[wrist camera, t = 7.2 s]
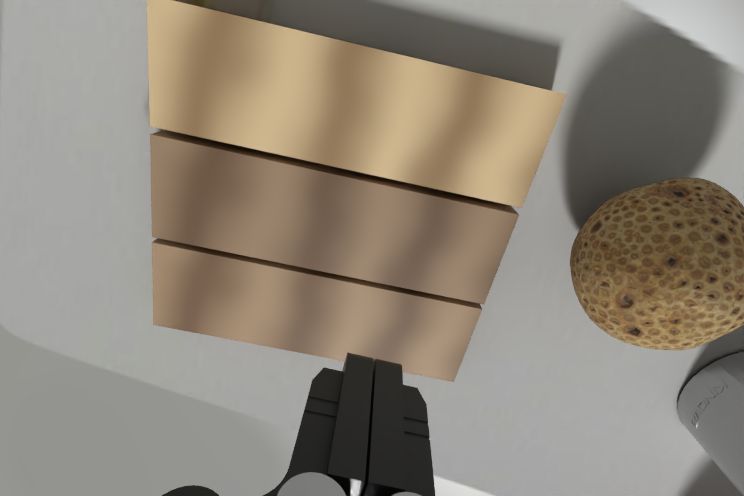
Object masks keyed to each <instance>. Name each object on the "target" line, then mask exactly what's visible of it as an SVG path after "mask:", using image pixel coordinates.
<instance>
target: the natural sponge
mask: <svg viewBox="0 0 744 496" xmlns="http://www.w3.org/2000/svg"><path fill="white" fill-rule="evenodd" d="M570 267H571V276H572V281H573V285H574V289H575V293H576V295H577V297H578V299H579V302H580V304H581V305H582V307H583V309H584V310H585V312H586V313H587V315H588V316H589V318H590V319H591V320H592V321H593V322H594V323H595V324H596V325H597V326H598V327H600V328H601V329H602V330H603V331H605V332H606V333H607V334H609V335H611V336H612V337H614V338H616V339H619V340H621V341H623V342H625V343H629V344H632V345H636V346H639V347H644V348H649V349H657V350H685V349H690V348H695V347H698V346H700V345H703V344H705V343H708V342H710V341H713V340H715V339H718V338H720V337H722V336H724V335H726V334H728V333H730V332H732V331H734V330H736V329H737V328H739V327H741V326H742V325H743V324H744V207H743V205H742V204H741V203H740V202H739V200H738V199H737V198H736V197H735V196H733V195H732V194H731V193H729V192H728V191H727V190H725V189H724V188H722V187H721V186H719V185H717V184H715V183H713V182H710V181H708V180H704V179H700V178H677V179H669V180H664V181H660V182H657V183H653V184H649V185H645V186H641V187H637V188H634V189H631V190H628V191H626V192H623V193H621V194H619V195H616V196H614V197H612V198H611V199H609V200H608V201H606V202H604V203H603V204H602V205H601V206H600V207H599V208H598V209H597V210H596V211H595V212H594V213H593V214H592V215H591V216H590V218H589V219H588V220H587V221H586V222H585V224H584V225H583V227H582V228H581V229H580V231H579V233H578V235H577V237H576V239H575V241H574V243H573V246H572V251H571V257H570Z"/></svg>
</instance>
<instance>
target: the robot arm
mask: <svg viewBox="0 0 744 496" xmlns="http://www.w3.org/2000/svg"><path fill="white" fill-rule="evenodd" d="M678 415H679V418H680V420H681V422H682V423H683V424H684V426H685V427H686V428H687V429H688V430H689V432H690V433H691V434H692V435H693V436H694V438H695V439H696V440H697V441H698V442H699V444H700V445H701V446H702V447H703V449H704V450H705V451H706V452H707V453H708V455H709V456H710V457H711V458H712V459H713V461H714V462H715V463H716V464H717V466H718V467H719V468H720V469H721V471H722V472H723V473H724V474H725V475H726V477H727V478H728V479H729V480H730V481H731V483H732V484H733V485H734V486H735V487H736V489H737V490H738V491H739V492H740V493H741V495H742V496H744V352H740V353H736V354H733V355H729V356H727V357H724V358H722V359H720V360H717V361H715V362H713V363H712V364H710V365H708V366H707V367H705V368H703V369H702V370H701V371H700V372H699V373H697V374H696V375H695V376H694V377H693V378H692V379H691V380H690V381H689V382H688V383H687V385H686V386H685V387H684V389H683V391H682V393H681V395H680V397H679V401H678ZM162 496H219V495H218V494H217V493H215V492H214V491H213V490H211V489H209V488H206V487H202V486H194V485H193V486H184V487H180V488H177V489H174V490H172V491H170V492H168V493H166V494H164V495H162ZM264 496H435V489H434V478H433V468H432V458H431V447H430V440H429V427H428V417H427V406H426V403H425V401H424V399H423V398H422V396H421V394H420V392H419V390H418V388H415V387H410V386H406V385H403V379H402V365H401V364H398V363H393V362H389V361H384V360H380V359H375V360H374V359H373V358H370V357H366V356H361V355H357V354H352V353H347V355H346V359H345V363H344V367H343V371H337V370H333V369H328V368H323V369H322V370H321V371H320V372H319V374H318V375H317V376H316V377H315V378H314V379H313V380H312V384H311V388H310V391H309V395H308V399H307V403H306V406H305V410H304V414H303V417H302V421H301V425H300V429H299V432H298V436H297V440H296V444H295V447H294V451H293V455H292V458H291V462H290V466H289V469H288V472H287V474H286V475H285V477H284V479H283V480H282V481H281V483H280V484H279V485H278V486H277V487H276V488H275V489H273V490H272V491H270V492H269V493H267V494H265V495H264Z"/></svg>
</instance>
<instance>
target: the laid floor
mask: <svg viewBox="0 0 744 496" xmlns="http://www.w3.org/2000/svg"><path fill="white" fill-rule="evenodd" d="M150 145H151V206H152V237H155V238H157V239H156V240H155V241H153V242H152V267H153V325H158V326H163V327H168V328H173V329H179V330H184V331H189V332H194V333H200V334H205V335H210V336H215V337H221V338H226V339H231V340H236V341H242V342H247V343H252V344H257V345H263V346H268V347H273V348H278V349H284V350H289V351H294V352H299V353H305V354H310V355H315V356H320V357H326V358H331V359H336V360H341V361H345V359H346V355H347V353H352V354H357V355H361V356H366V357H370V358H373V359H374V360H375V359H380V360H384V361H389V362H393V363H398V364H401V365H402V372H404V373H410V374H415V375H420V376H425V377H431V378H436V379H441V380H446V381H452V382H454V380H455V377H456V375H457V372H458V370H459V367H460V364H461V362H462V359H463V357H464V354H465V352H466V349H467V347H468V344H469V341H470V339H471V336H472V334H473V331H474V329H475V326H476V323H477V321H478V318H479V316H480V313H481V311H482V308H481V306H480V304H484V303H485V300H486V298H487V295H488V293H489V290H490V288H491V285H492V282H493V280H494V277H495V275H496V272H497V270H498V267H499V265H500V262H501V259H502V257H503V254H504V252H505V249H506V247H507V244H508V241H509V239H510V236H511V234H512V231H513V229H514V226H515V224H516V221H517V218H518V216H519V214H518V213H517V212H516V211H515V210H514V209H513V208H512V207H511V206H510V205H506V204H502V203H497V202H493V201H488V200H484V199H479V198H474V197H470V196H465V195H461V194H456V193H452V192H447V191H443V190H438V189H433V188H429V187H424V186H420V185H415V184H411V183H406V182H402V181H397V180H392V179H388V178H383V177H379V176H374V175H370V174H365V173H361V172H356V171H351V170H347V169H342V168H338V167H333V166H329V165H324V164H320V163H315V162H310V161H306V160H301V159H297V158H292V157H288V156H283V155H279V154H274V153H269V152H265V151H260V150H256V149H251V148H247V147H242V146H238V145H233V144H228V143H224V142H219V141H215V140H210V139H206V138H201V137H197V136H192V135H187V134H183V133H178V132H174V131H169V130H164V131H160V132H157V133H153V134H150Z"/></svg>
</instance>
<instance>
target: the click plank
mask: <svg viewBox="0 0 744 496" xmlns="http://www.w3.org/2000/svg"><path fill="white" fill-rule="evenodd" d="M147 25H148V62H149V100H150V126H151V127H156V128H160V129H165V130H169V131H174V132H178V133H183V134H187V135H192V136H197V137H201V138H206V139H210V140H215V141H219V142H224V143H228V144H233V145H238V146H242V147H247V148H251V149H256V150H260V151H265V152H269V153H274V154H279V155H283V156H288V157H292V158H297V159H301V160H306V161H310V162H315V163H320V164H324V165H329V166H333V167H338V168H342V169H347V170H351V171H356V172H361V173H365V174H370V175H374V176H379V177H383V178H388V179H392V180H397V181H402V182H406V183H411V184H415V185H420V186H424V187H429V188H433V189H438V190H443V191H447V192H452V193H456V194H461V195H465V196H470V197H474V198H479V199H484V200H488V201H493V202H497V203H502V204H506V205H511V206H515V207H520V208H522V206H523V203H524V201H525V198H526V196H527V193H528V191H529V188H530V186H531V183H532V181H533V178H534V176H535V173H536V171H537V168H538V166H539V163H540V161H541V158H542V156H543V153H544V151H545V148H546V146H547V143H548V141H549V138H550V136H551V133H552V131H553V128H554V126H555V123H556V121H557V118H558V115H559V113H560V110H561V108H562V105H563V103H564V100H565V98H566V95H567V94H563V93H559V92H555V91H550V90H546V89H542V88H538V87H534V86H530V85H525V84H521V83H517V82H513V81H509V80H504V79H500V78H496V77H492V76H488V75H483V74H479V73H475V72H471V71H467V70H463V69H458V68H454V67H450V66H446V65H442V64H437V63H433V62H429V61H425V60H421V59H417V58H412V57H408V56H404V55H400V54H396V53H391V52H387V51H383V50H379V49H375V48H370V47H366V46H362V45H358V44H354V43H350V42H345V41H341V40H337V39H333V38H329V37H324V36H320V35H316V34H312V33H308V32H303V31H299V30H295V29H291V28H287V27H283V26H278V25H274V24H270V23H266V22H262V21H257V20H253V19H249V18H245V17H241V16H237V15H232V14H228V13H224V12H220V11H216V10H211V9H207V8H203V7H199V6H195V5H190V4H186V3H182V2H178V1H174V0H147Z"/></svg>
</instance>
